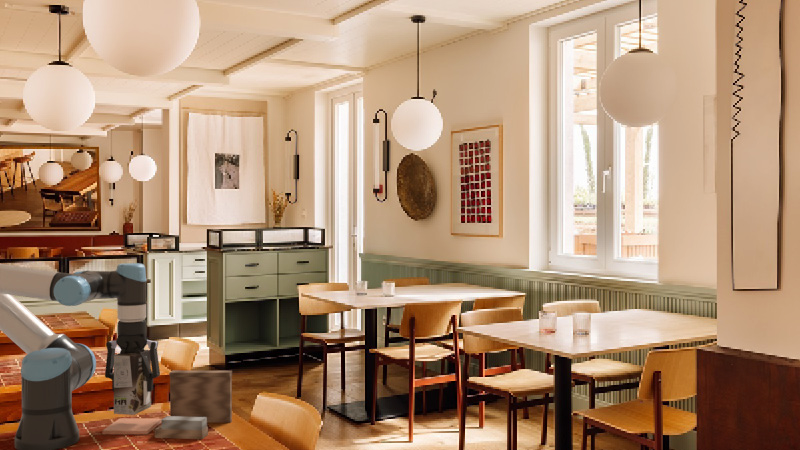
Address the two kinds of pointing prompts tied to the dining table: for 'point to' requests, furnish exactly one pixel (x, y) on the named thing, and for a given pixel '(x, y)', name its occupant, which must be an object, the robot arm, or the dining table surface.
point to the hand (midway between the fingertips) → (132, 403)
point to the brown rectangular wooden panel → (201, 394)
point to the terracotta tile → (132, 426)
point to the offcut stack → (182, 427)
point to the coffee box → (129, 383)
